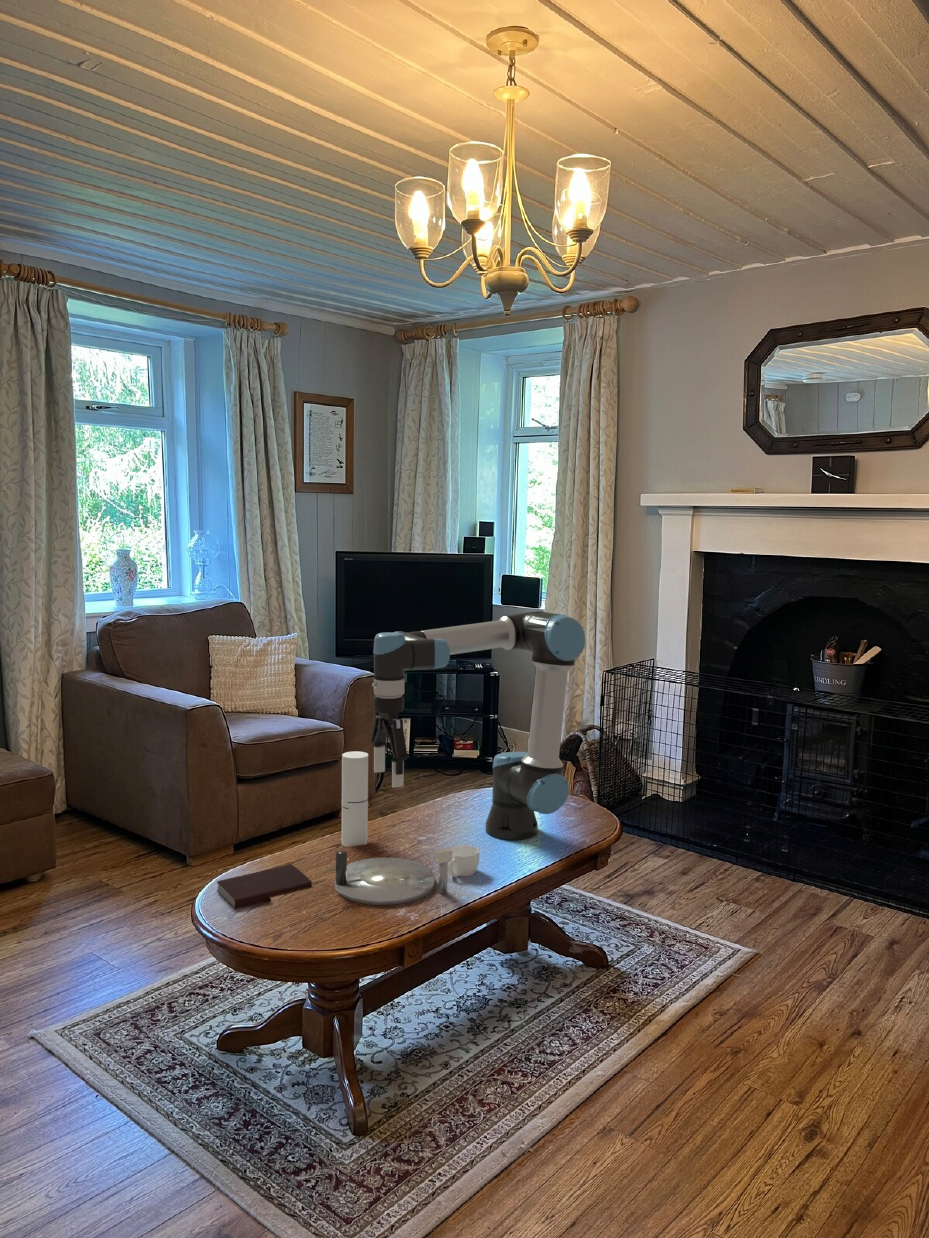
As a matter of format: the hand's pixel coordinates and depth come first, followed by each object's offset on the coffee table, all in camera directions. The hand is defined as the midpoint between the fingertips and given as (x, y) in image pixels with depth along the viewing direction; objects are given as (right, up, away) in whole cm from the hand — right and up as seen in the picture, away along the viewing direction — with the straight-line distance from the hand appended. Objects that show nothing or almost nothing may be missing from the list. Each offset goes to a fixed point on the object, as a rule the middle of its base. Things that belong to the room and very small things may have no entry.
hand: (388, 779), depth 223 cm
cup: (+18, -25, +2) cm, 31 cm away
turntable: (0, -24, -6) cm, 25 cm away
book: (-29, -26, -9) cm, 40 cm away
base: (0, -26, -6) cm, 26 cm away
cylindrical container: (-11, -22, +24) cm, 35 cm away
